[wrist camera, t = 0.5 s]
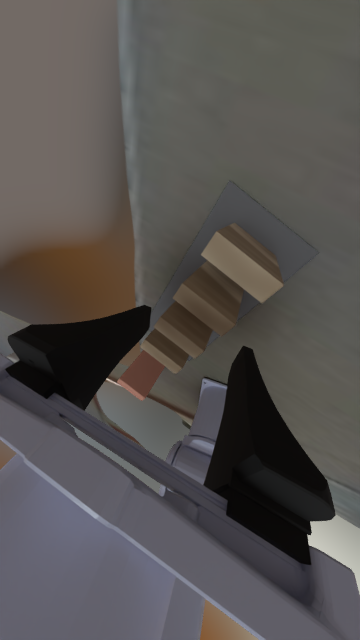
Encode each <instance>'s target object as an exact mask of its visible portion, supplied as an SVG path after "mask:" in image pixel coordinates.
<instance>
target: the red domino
mask: <svg viewBox="0 0 360 640" xmlns="http://www.w3.org/2000/svg"><path fill="white" fill-rule="evenodd" d="M164 367H165V366H164V365H163V364H161V363H160V362H159V361H158V360H156V359H155V358H154V357H152V356H151V355H150V354H149V353H147V352H146V351H145V350H143V351H142V352H141V354H140V355H139V356H138V357H137V358H136V360H135V361H134V362H133V363H132V364H131V365H130V367H129V368H128V369H127V370H126V371H125V372H124V374H123V375H122V376H121V377H120V378H119V380H118V381H117V382H118V383H119V384H120V385H121V386H123V387H124V388H125V389H127V390H128V391H129V392H131V393H132V394H133V395H135V396H136V397H137V398H138V399H140V400H141V401H142V400H144V399H145V398H146V396H147V394H148V393H149V391H150V390H151V388H152V386H153V385H154V383H155V382H156V380H157V378H158V377H159V375H160V374H161V372H162V370H163V369H164Z"/></svg>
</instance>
